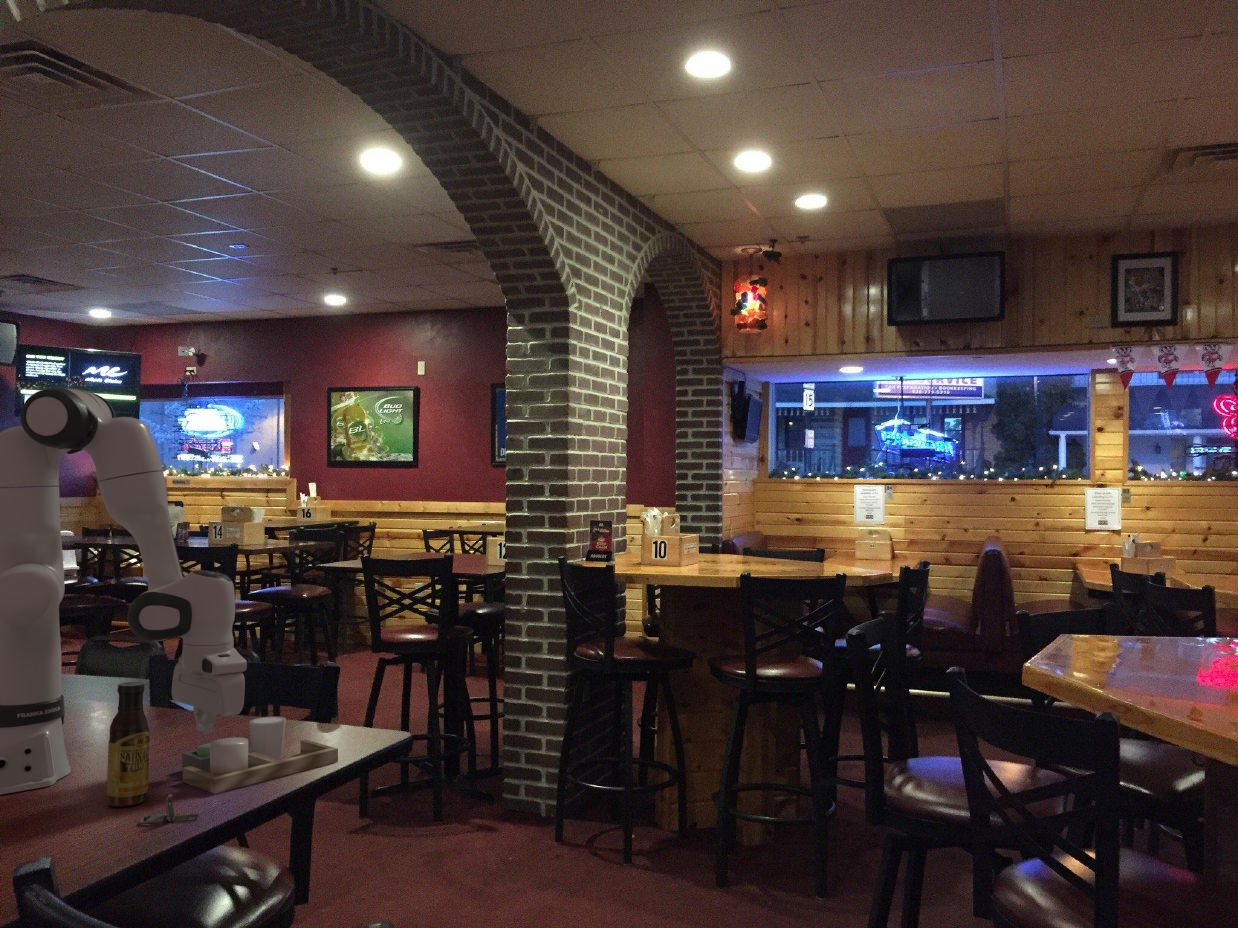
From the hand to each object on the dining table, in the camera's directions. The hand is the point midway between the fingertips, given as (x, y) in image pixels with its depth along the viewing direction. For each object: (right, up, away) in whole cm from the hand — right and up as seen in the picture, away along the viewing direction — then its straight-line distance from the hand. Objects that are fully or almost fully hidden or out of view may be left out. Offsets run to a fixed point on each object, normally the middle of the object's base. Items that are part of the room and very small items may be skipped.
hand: (204, 731), depth 186 cm
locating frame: (+11, -7, -1) cm, 13 cm away
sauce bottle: (-5, -7, -19) cm, 21 cm away
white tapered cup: (+9, -7, +9) cm, 15 cm away
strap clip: (+6, -7, -28) cm, 29 cm away
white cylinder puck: (+7, -7, -7) cm, 12 cm away
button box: (+1, -7, 0) cm, 7 cm away
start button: (+1, -6, 0) cm, 6 cm away
